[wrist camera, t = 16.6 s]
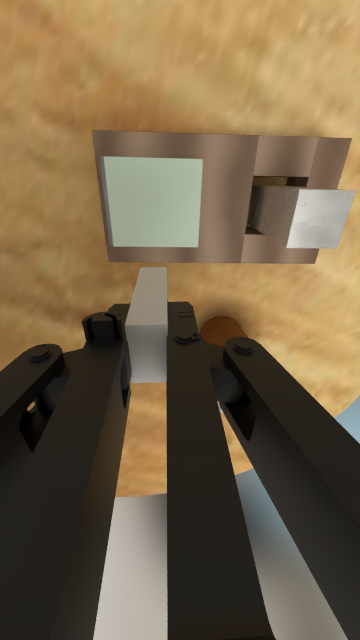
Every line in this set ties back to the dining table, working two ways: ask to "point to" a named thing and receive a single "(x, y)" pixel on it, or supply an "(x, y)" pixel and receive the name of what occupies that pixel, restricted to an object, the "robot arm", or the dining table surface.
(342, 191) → the steel pin
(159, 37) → the dining table surface
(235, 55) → the dining table surface
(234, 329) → the disposable coffee cup
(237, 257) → the walnut block
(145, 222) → the plate
